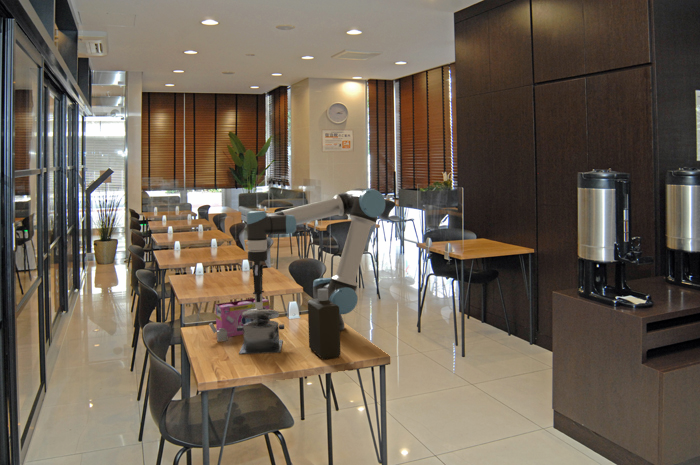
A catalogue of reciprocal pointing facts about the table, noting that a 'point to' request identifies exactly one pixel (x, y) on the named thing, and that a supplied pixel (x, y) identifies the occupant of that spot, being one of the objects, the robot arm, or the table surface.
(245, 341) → the pot
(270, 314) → the lid
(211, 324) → the lighter
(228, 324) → the gum box
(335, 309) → the bottle
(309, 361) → the table surface
